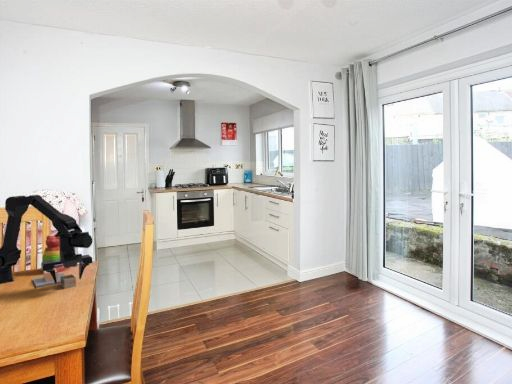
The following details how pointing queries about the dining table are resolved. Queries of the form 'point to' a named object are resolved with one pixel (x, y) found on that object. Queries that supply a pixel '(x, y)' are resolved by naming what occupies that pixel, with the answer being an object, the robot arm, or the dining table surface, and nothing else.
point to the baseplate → (41, 282)
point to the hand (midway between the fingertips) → (68, 281)
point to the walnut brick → (68, 281)
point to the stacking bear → (53, 252)
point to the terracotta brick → (49, 276)
